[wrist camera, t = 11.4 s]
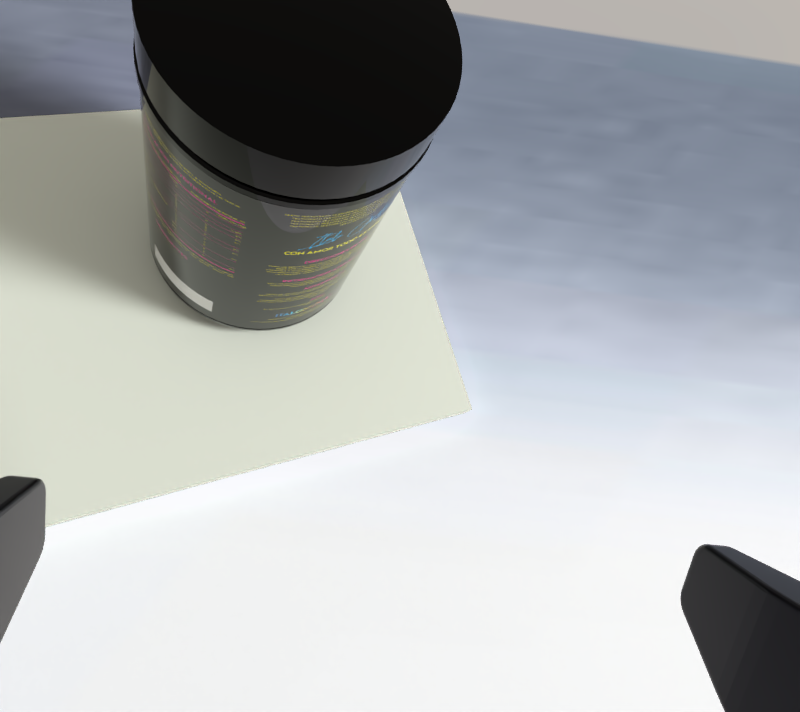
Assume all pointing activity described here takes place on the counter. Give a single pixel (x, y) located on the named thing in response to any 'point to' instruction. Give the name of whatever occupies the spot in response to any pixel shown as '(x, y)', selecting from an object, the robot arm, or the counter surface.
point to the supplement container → (282, 141)
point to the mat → (180, 338)
